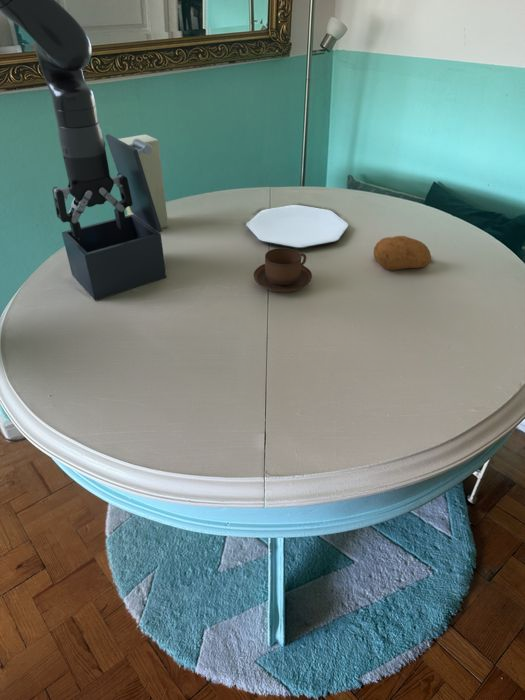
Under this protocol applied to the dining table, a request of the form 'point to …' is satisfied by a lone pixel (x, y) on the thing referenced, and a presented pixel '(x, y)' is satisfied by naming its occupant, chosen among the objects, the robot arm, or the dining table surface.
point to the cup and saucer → (283, 271)
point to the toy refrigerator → (152, 176)
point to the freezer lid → (135, 177)
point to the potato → (401, 253)
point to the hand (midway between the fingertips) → (100, 233)
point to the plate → (297, 226)
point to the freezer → (115, 256)
